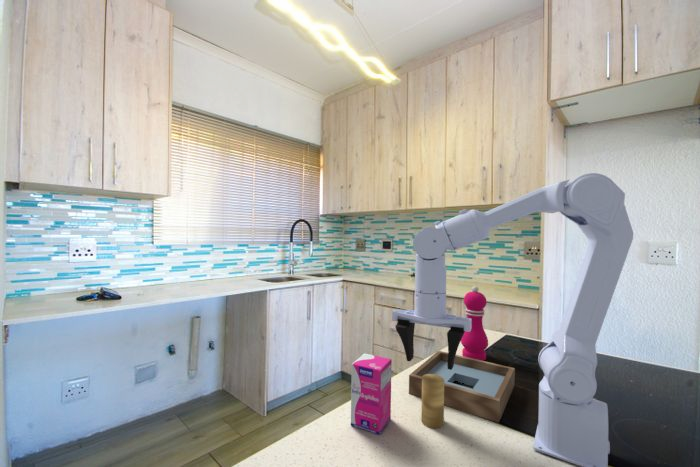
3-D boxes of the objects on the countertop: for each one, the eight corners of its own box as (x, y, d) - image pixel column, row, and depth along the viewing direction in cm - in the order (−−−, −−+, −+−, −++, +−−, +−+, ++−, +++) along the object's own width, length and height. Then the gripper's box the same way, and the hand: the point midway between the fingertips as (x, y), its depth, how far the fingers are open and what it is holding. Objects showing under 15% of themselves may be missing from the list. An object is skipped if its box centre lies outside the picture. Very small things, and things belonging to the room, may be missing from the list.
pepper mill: (491, 363, 87) (492, 289, 87) (463, 361, 88) (464, 287, 88) (484, 353, 94) (485, 284, 94) (458, 351, 95) (459, 283, 95)
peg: (446, 420, 60) (447, 377, 60) (439, 431, 57) (439, 385, 57) (426, 413, 62) (426, 372, 62) (417, 423, 59) (418, 379, 59)
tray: (514, 385, 74) (514, 368, 74) (498, 422, 60) (499, 401, 59) (438, 365, 85) (438, 350, 85) (408, 393, 70) (409, 375, 70)
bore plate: (508, 385, 74) (509, 377, 74) (494, 418, 61) (494, 407, 61) (440, 368, 83) (440, 360, 83) (415, 392, 70) (415, 383, 70)
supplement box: (349, 426, 58) (350, 362, 58) (363, 410, 63) (364, 352, 63) (379, 436, 55) (380, 369, 55) (391, 419, 60) (392, 357, 60)
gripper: (474, 291, 61) (473, 363, 61) (400, 285, 68) (400, 349, 68) (468, 298, 55) (467, 378, 55) (388, 290, 62) (387, 361, 62)
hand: (429, 363), depth 61 cm, fingers open, 7 cm apart
